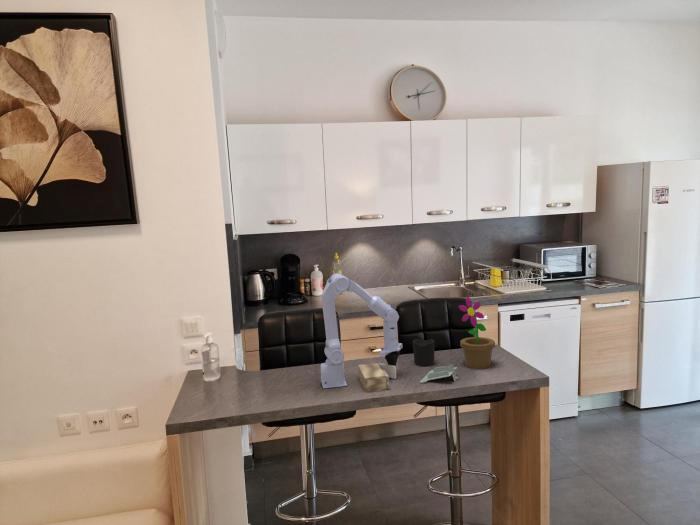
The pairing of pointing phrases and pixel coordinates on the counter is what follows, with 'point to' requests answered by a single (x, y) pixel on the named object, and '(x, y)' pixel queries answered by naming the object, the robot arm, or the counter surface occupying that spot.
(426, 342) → the pen holder
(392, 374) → the door
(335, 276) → the robot arm
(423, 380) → the metal bracket
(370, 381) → the beige rectangular block
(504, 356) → the counter surface
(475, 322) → the flowerpot
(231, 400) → the counter surface
